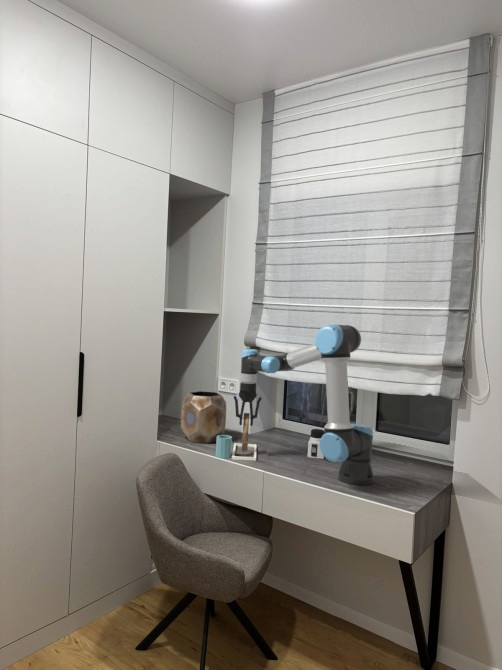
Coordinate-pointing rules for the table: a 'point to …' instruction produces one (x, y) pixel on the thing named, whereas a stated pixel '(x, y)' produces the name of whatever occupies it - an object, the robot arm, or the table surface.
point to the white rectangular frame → (244, 457)
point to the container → (315, 444)
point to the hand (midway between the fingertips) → (245, 432)
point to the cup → (223, 446)
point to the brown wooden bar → (245, 432)
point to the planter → (203, 416)
